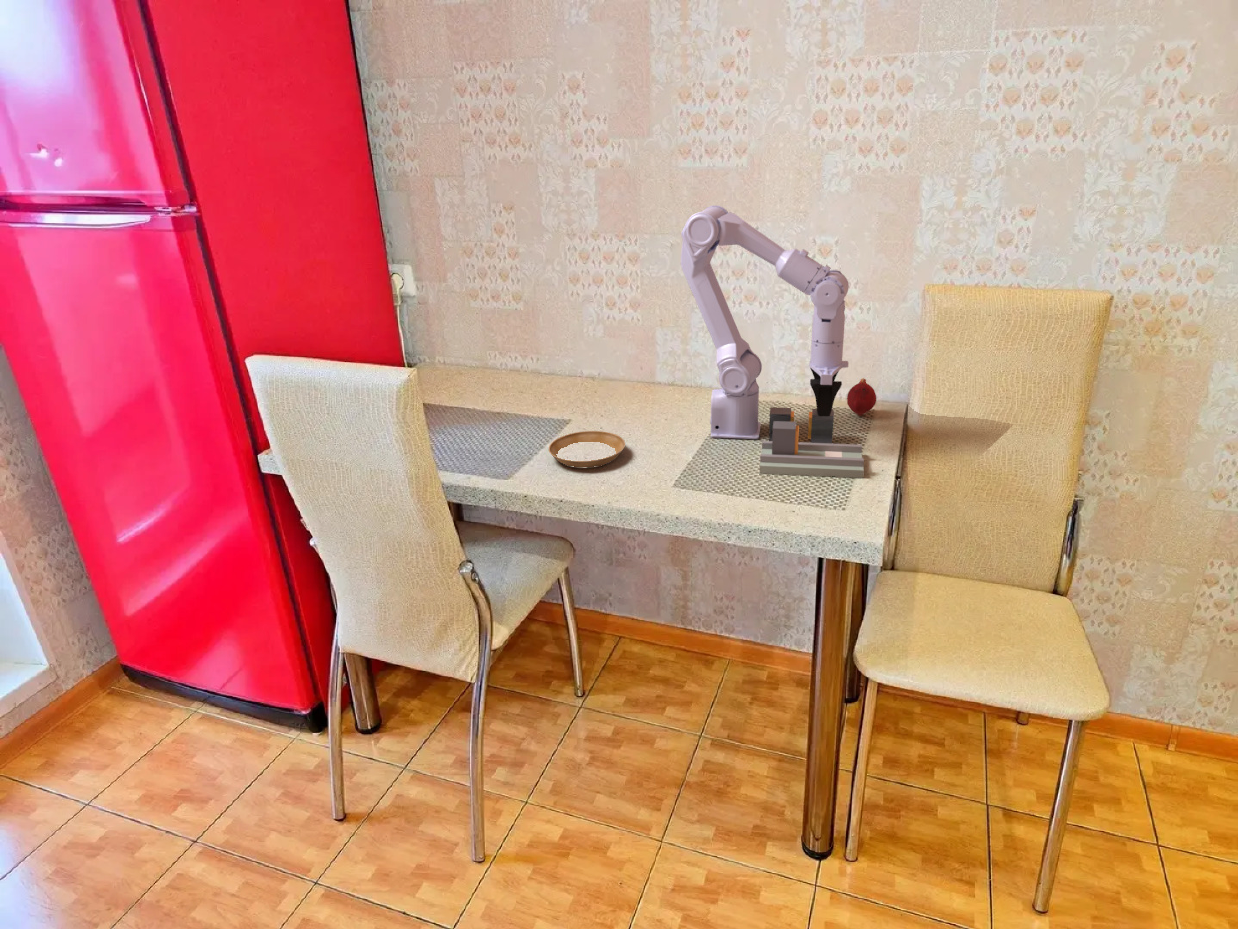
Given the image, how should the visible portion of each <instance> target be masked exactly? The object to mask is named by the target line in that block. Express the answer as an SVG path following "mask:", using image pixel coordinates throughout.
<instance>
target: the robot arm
mask: <svg viewBox="0 0 1238 929" xmlns="http://www.w3.org/2000/svg"><path fill="white" fill-rule="evenodd" d="M680 235H681V238H682V243H681V253H680V266H681V270H682V272H683V275H684V277H685V279H686V281H687V284H688V286H689V289H690V290H691V293H692V296H693V298H694V300H695V302H696V305H697V308H698V310H699V312H700V314H701V317H702V319H703V321H704V323H705V326H706V329H707V331H708V333H709V336H710V337H711V340H712V343H713V344H714V346H715V350H716V366H717V369H718V373H719V374H718V375H719V376H718V381H719V385H720V387H721V388H715V389H712V391H711V396H710V403H711V404H710V420H709V421H710V422H709V423H710V437H711V438H714V439H715V438H717V439H719V438H720V439H739V440H740V439H743V440H745V439H747V440H758V439H759V438H760V432H761V426H762V423H761V422H759V404H760V403H759V401H760V399H759V397H760V386H759V385H758V382H757V378H759V376H760V374H761V372H762V370H763V369H762V367H763V364H762V362H761V358H760V357H759V356H758V355H757V354H756V353H755V352H754V351H753V350H752V349H751V347H750V344H749V343H748V342H747V341H746V340H744V338H742V336H741V334H740V331H739V329H738V327H737V324H736V322H735V318H734V316H733V315H732V312H731V310H730V307H729V305H728V303H727V300H726V298H725V296H724V293H723V291H722V289H721V285H720V284H719V281H718V279H717V277H716V274H715V272H714V270H713V267H712V264H711V261H712V259H713V256H714V254H715V253H716V250H717V247H718V246H720V247H721V246H722V247H723V246H724V247H725V246H733V245H735V246H736V245H737V246H739V247H741V248H743V249H745V250H747V251H749V252H750V253H751V254H753V255H755V256H756V257H759V258H760V259H762V260H764V261H765V262H767V263H769V264H770V265H772V266H774V267H775V270H776V274H777V277H778V278H780V279H782V280H783V281H785V282H786V283H788V284H789V285H791V286H792V287H794V288H795V289H797V290H798V291H800V292H802V293H804V294H805V295H807V296H810V299H811V302H812V303H813V314H812V321H811V322H812V324H811V325H812V326H811V347H810V348H811V349H810V360H809V363H808V364H809V365H808V366H809V368H810V370H811V373H812V375H813V378H811V379H810V378H809V380H810V381H809V383H810V384H809V385H810V386H811V389H812V391H813V395H814V398H815V406H816V409H817V413H818V416H830V414H831V411H832V409H833V406H834V402H835V398H836V396H837V394H838V392H839V390H840V389H841V388H842V385H843V384H842V383H843V382H842V381H839V380H836V378H837V375H838V374H839V372H840V370H842V369H844V368H849V361H848V360H843V353H844V352H843V351H844V338H845V320H846V319H845V318H846V314H845V311H846V300H845V299H846V296H847V295H848V293H849V292H848V291H849V288H850V286H849V281H848V279H847V277H846V276H845V275H844V274H843V273H842V272H841V270H837V269H831V267H830V265H827V264H826V265H825V266H824V265H822V264H821V263H820V262H818V261H816V260H815V259H813V258H811V257H810V256H808V255H809V251H807V250H805V249H804V248H803V249H801V250H799V249H798V248H793V249H788V250H787V249H784V248H783V247H782V246H780V245H778V243H776V242H775V241H773V240H772V239H771V238H769V237H767V236H766V235H765V234H764V233H762V232H760V231H759V230H758V229H756V228H755V227H754V226H752V225H751V224H749V223H748V222H746V221H745V220H744V219H743V218H741V217H740V216H739V215H737V213H733V212H731V211H729V212H728V210H727V209H726V208H725V207H723V206H721V205H710V206H708V207H706V208H704V210H701V211H699V212H696V213H694V214H692V215H690V217H689V218H688V219H687V220H686V222H685V225H684V227H683V229H682V231H681V233H680ZM835 380H836V381H835Z"/></svg>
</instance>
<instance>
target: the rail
mask: <svg viewBox="0 0 1238 929" xmlns="http://www.w3.org/2000/svg"><path fill="white" fill-rule="evenodd" d="M799 436H800V425H797V422H796V421H794V422H786V421H774V422H773V438H772V441H769V440H762V441H761V452H760V455H759V456H760V457H759V458H760V459H759V474H770V475H771V474H772V475H787V476H810V477H811V476H812V477H828V476H831V477H832V476H835V477H834V478H850V477H851V479H852V478H853V479H855V478H856V479H863V478H864V471H865V470H864V462H865V460H864V458H863V454H862V452H863V451H862V450H863V446H862V445H863V444H854V443H853V444H852V443H851V444H850V443H849V444H848V443H832V444H829V443H811V442H802V441H801V442H799ZM832 478H833V477H832Z"/></svg>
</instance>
